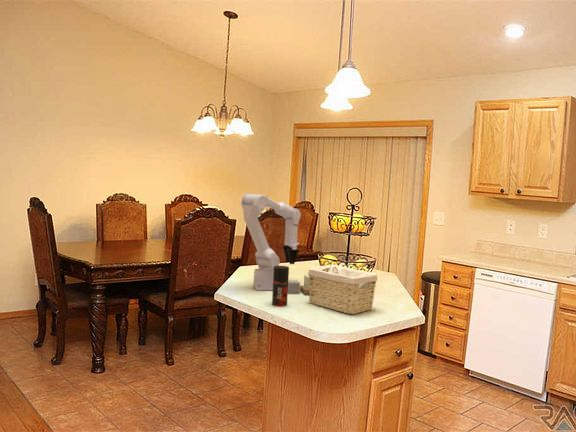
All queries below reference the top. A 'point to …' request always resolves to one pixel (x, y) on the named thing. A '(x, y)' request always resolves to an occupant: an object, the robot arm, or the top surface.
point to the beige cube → (306, 281)
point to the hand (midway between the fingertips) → (290, 262)
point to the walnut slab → (304, 290)
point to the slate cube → (293, 287)
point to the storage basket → (341, 288)
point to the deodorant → (280, 286)
